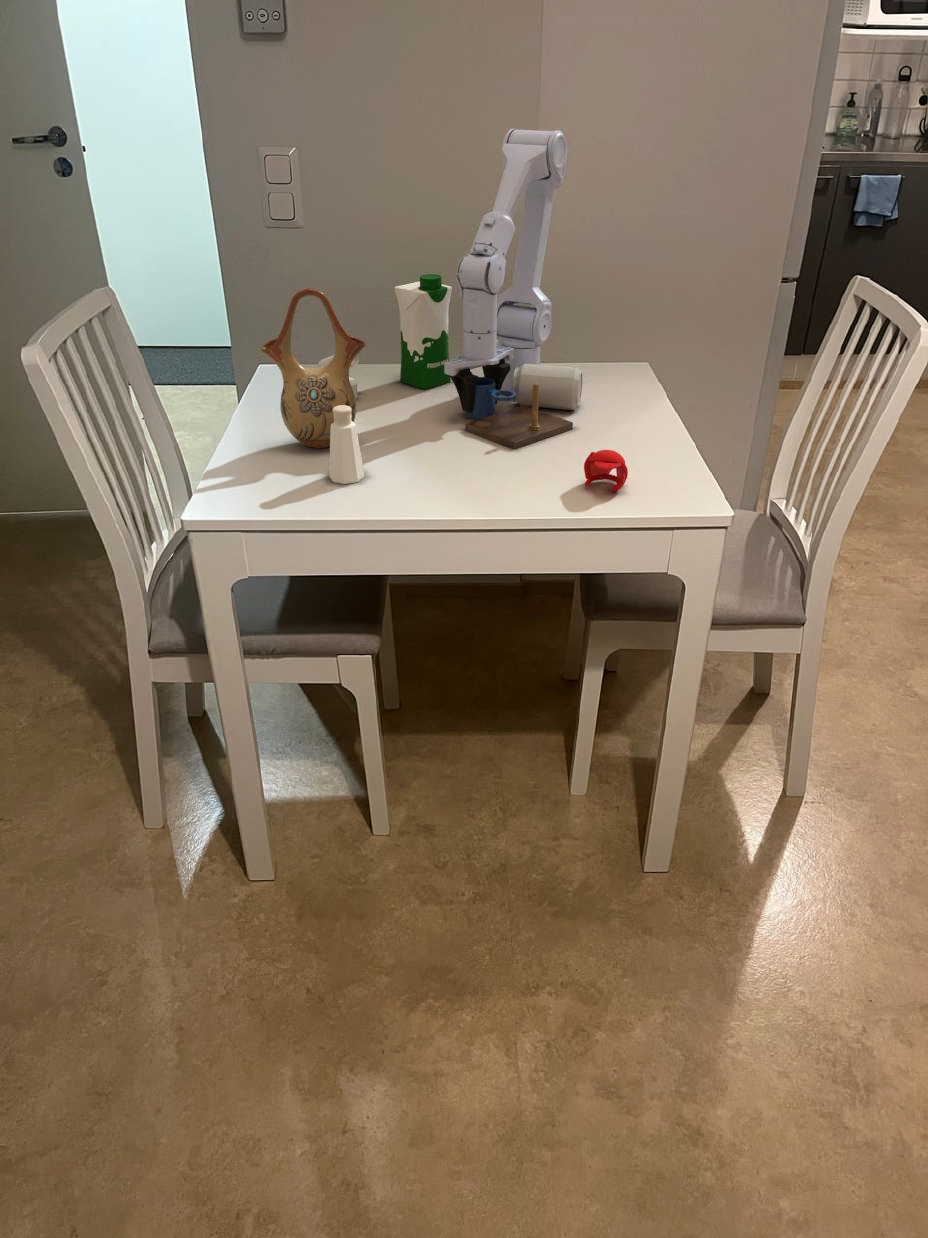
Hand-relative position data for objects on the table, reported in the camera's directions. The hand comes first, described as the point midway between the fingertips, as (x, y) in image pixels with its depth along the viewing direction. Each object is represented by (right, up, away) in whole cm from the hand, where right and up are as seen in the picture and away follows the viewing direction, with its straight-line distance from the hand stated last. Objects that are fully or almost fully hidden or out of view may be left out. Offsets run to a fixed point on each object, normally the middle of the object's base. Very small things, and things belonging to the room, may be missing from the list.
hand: (479, 407), depth 169 cm
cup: (+2, -2, -1) cm, 3 cm away
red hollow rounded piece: (+18, -18, -27) cm, 37 cm away
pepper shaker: (-21, -16, -23) cm, 35 cm away
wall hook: (-26, +4, +9) cm, 28 cm away
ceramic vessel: (-26, -9, -11) cm, 30 cm away
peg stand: (+7, -5, -6) cm, 10 cm away
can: (+18, +3, +1) cm, 18 cm away
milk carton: (-10, +9, +17) cm, 22 cm away
